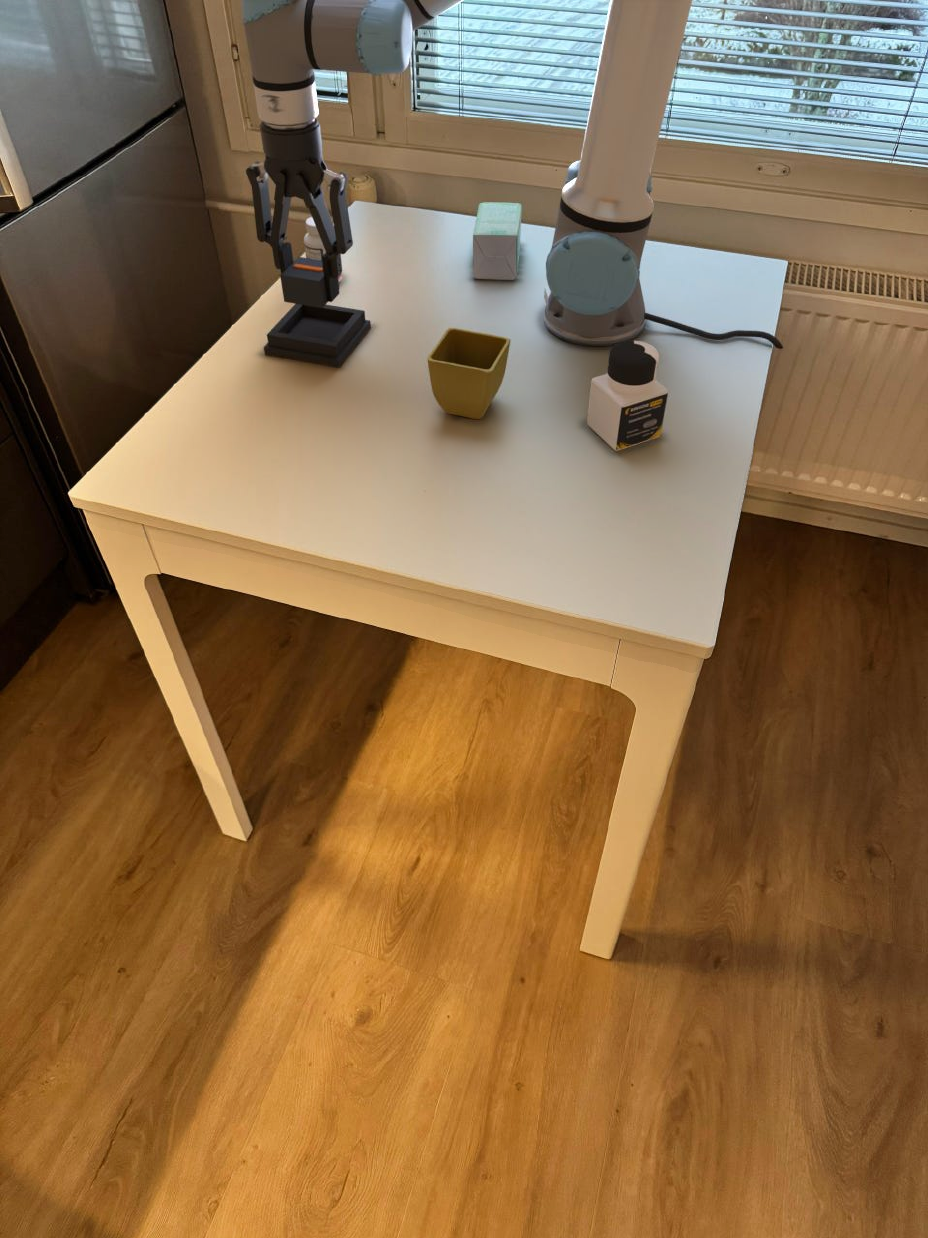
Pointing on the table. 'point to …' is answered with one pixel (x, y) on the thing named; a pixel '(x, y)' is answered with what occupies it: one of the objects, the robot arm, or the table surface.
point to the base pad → (317, 334)
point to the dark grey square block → (304, 283)
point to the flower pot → (467, 371)
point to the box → (497, 241)
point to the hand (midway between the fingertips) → (311, 293)
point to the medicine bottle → (628, 397)
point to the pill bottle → (314, 243)
